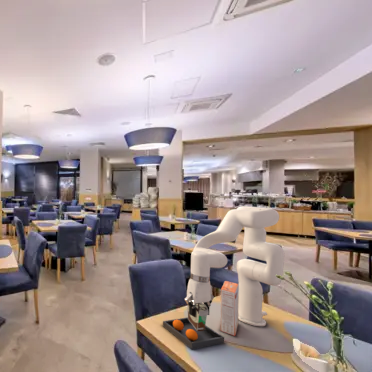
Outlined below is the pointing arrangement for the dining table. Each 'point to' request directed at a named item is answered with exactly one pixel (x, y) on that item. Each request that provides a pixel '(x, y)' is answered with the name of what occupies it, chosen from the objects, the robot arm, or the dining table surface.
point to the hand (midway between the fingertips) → (199, 314)
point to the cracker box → (229, 307)
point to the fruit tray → (204, 337)
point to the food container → (199, 316)
